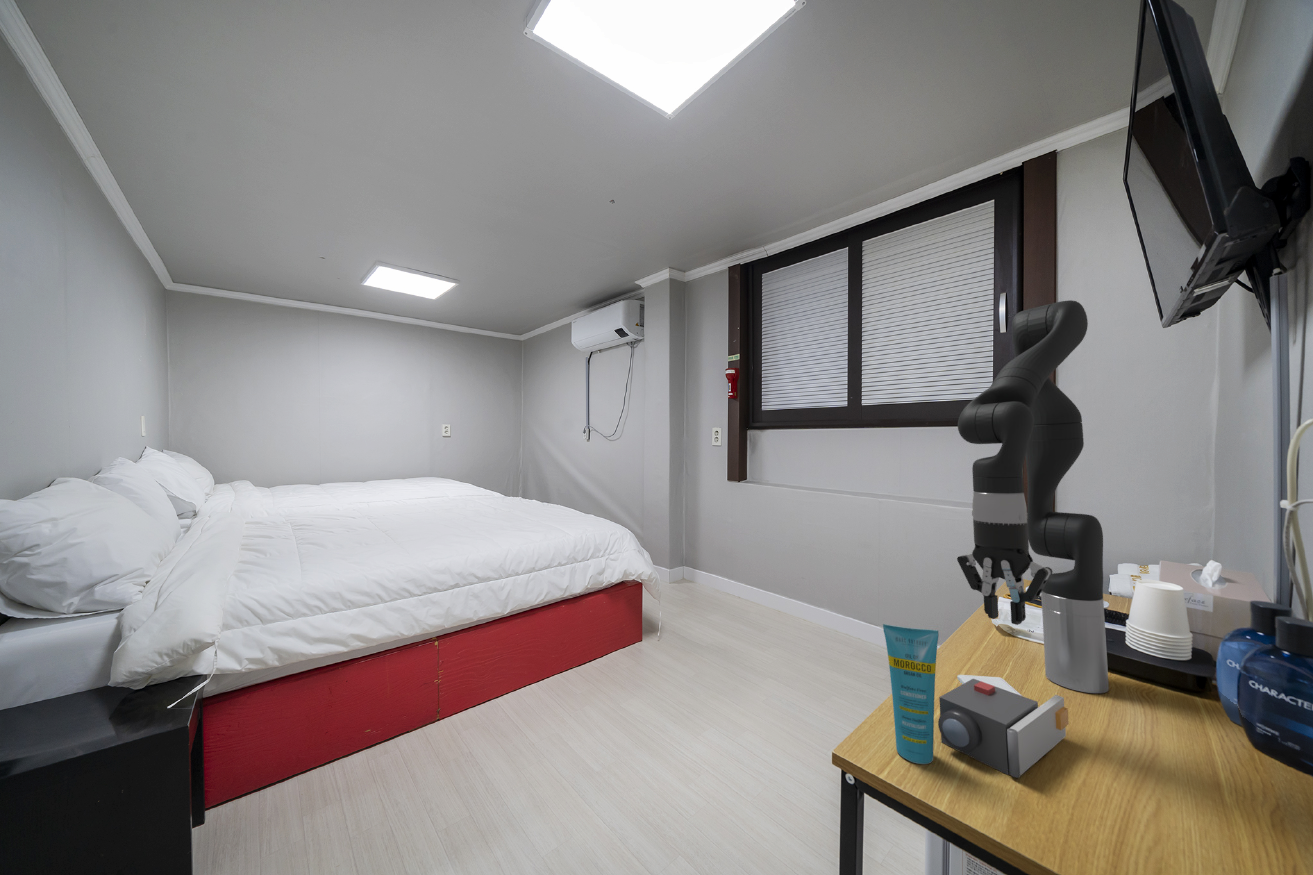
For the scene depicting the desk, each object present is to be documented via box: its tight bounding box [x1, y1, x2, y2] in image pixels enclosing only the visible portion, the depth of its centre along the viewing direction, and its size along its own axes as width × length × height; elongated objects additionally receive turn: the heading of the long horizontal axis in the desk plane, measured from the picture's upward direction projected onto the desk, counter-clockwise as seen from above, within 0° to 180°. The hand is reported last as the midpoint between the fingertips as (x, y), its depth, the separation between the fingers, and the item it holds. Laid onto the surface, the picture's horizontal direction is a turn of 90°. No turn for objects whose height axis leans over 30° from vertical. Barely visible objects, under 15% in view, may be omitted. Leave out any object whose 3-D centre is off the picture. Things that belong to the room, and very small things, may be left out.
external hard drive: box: [956, 674, 1023, 696], centre depth 86 cm, size 2×8×12 cm
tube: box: [882, 623, 939, 765], centre depth 70 cm, size 7×5×19 cm, turn 69°
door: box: [1007, 694, 1070, 779], centre depth 69 cm, size 18×2×6 cm, turn 122°
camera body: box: [937, 679, 1039, 776], centre depth 71 cm, size 13×9×8 cm
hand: (1004, 619), depth 78 cm, fingers open, 3 cm apart
